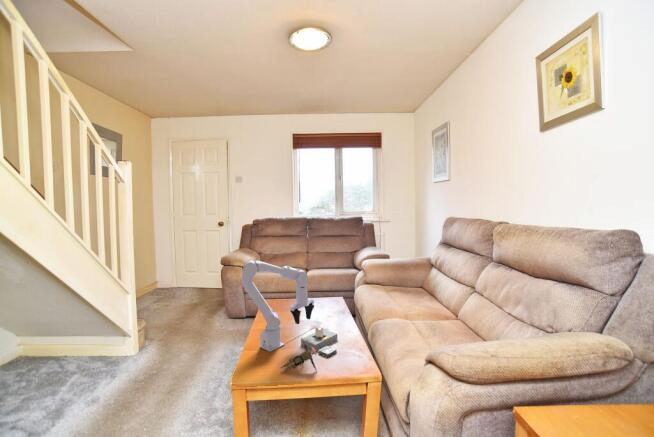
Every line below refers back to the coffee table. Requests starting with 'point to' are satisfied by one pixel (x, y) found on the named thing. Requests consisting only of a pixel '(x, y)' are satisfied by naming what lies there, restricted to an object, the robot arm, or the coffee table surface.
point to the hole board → (318, 344)
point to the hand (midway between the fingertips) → (302, 321)
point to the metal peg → (319, 333)
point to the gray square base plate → (327, 351)
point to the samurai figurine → (301, 357)
